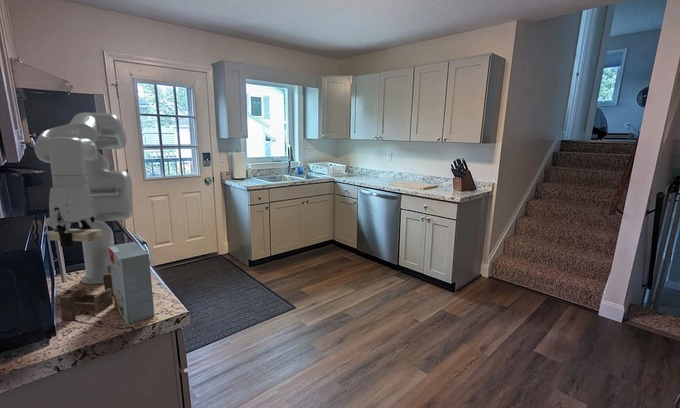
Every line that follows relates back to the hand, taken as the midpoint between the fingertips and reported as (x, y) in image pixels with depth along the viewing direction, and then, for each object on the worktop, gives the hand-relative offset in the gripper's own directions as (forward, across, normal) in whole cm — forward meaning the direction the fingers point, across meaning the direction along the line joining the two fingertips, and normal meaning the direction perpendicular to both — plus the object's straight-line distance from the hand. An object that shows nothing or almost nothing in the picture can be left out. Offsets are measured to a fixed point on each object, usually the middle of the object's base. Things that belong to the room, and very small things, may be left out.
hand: (77, 242), depth 97 cm
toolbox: (+22, -5, -2) cm, 23 cm away
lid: (-1, 0, 0) cm, 1 cm away
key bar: (+14, -23, -2) cm, 27 cm away
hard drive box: (+23, -4, +13) cm, 26 cm away
